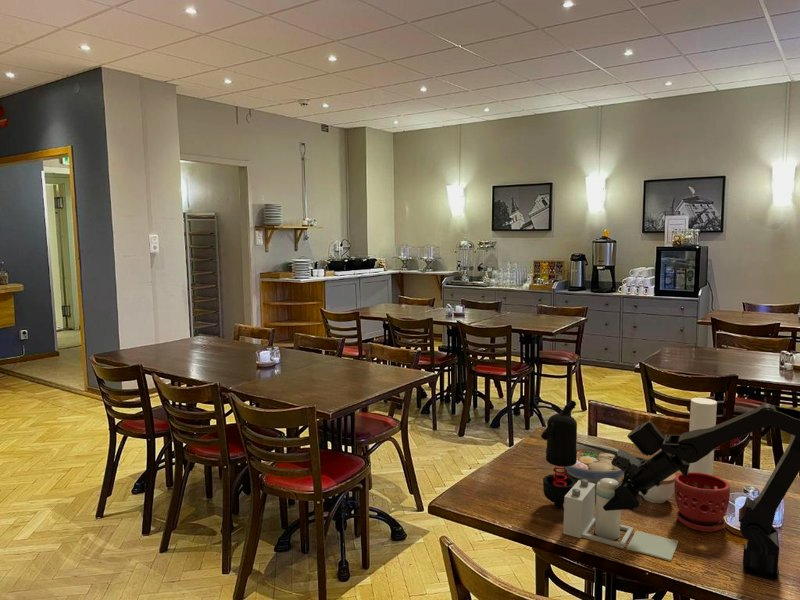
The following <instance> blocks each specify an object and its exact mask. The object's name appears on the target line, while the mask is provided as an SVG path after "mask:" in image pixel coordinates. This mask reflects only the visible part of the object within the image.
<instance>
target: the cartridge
mask: <svg viewBox="0 0 800 600" xmlns="http://www.w3.org/2000/svg"><path fill="white" fill-rule="evenodd" d="M618 484H619V481H618V479H616V480H614V479H611V478H603V479H601V480H600V481H599V482H597V484H596V487H595V518H596V520H595V524H594V529H595V530H594V534H595V536H598V537H602V538H605V539H609V540H613V541H615V540H617V539H619V538H620V535H621V534H620V533H621V529H620V524H621V512H622V510H611V511H605V510H604V509H603V506H604V505H605V504H606V503H607V502H608V501H609V500H610V499H611V498H612V497H613V496H614V495H615V492H614V489H615V487H616V485H618Z"/></svg>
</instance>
